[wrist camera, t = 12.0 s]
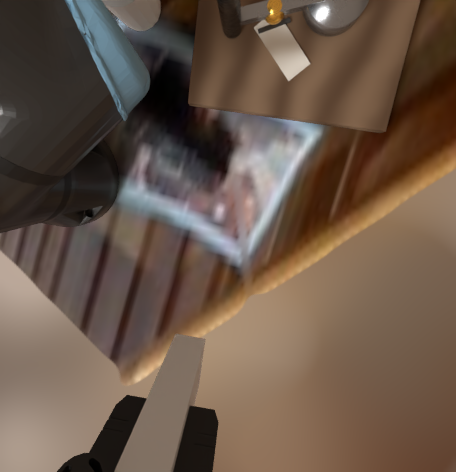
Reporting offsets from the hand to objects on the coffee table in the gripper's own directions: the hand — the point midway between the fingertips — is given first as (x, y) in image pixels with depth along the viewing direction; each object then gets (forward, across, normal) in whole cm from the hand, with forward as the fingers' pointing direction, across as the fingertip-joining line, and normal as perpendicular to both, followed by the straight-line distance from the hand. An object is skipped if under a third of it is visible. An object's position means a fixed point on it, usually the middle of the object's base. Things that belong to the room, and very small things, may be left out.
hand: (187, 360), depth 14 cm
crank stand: (+29, +5, +27) cm, 40 cm away
